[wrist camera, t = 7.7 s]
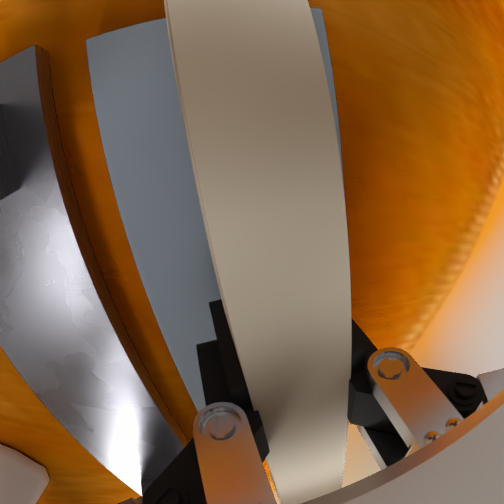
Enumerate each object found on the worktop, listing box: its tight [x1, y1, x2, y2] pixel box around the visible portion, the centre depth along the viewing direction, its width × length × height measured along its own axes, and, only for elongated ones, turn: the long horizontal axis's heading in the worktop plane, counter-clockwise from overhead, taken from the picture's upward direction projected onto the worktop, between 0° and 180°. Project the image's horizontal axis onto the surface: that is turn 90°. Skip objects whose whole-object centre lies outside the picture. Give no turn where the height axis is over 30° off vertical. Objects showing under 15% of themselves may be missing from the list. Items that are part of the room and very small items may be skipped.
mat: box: [86, 8, 344, 412], centre depth 12 cm, size 21×8×1 cm, turn 9°
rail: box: [164, 0, 352, 504], centre depth 8 cm, size 28×2×3 cm, turn 9°
